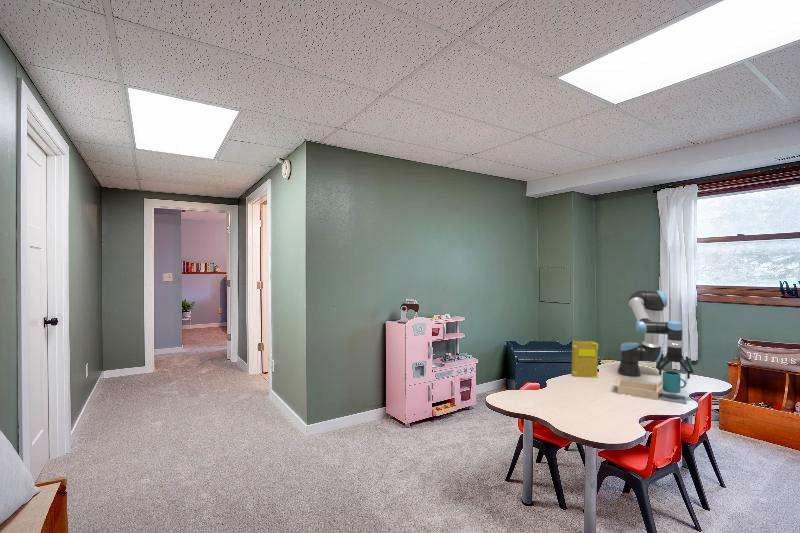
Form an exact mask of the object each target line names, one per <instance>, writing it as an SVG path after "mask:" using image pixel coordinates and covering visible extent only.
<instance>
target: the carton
mask: <svg viewBox="0 0 800 533" xmlns="http://www.w3.org/2000/svg"><path fill="white" fill-rule="evenodd" d="M613 381H614V382H615V384H616V386H617V394H618V393H619V394H618V395H622V394H625V395H624V396H628V395H631V396H630V397H635V396H636V398H641V399H647V400H653V401H659V392H660V391H661V390H663V381H661V380H660V382H659V383H658V384H655V383H647V382H641V381H636V380H635V381H634V380H626V379H620V378H619V377H618V375H617V374H615V376H614V379H613Z"/></svg>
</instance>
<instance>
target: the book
mask: <svg viewBox="0 0 800 533" xmlns="http://www.w3.org/2000/svg"><path fill="white" fill-rule="evenodd" d="M571 344H572V345H571V376H572V377H575V378H591V379H592V378H593V379H594V378H595V379H598V376H599V374H598V372H599V371H598V368H599V367H598V360H599V357H598V356H599V355H598V354H599V353H598V352H599V343H598V342H596V341H589V340H587V341H586V340H584V341H583V340H581V341H580V340H573V341H571Z"/></svg>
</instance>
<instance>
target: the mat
mask: <svg viewBox="0 0 800 533" xmlns="http://www.w3.org/2000/svg"><path fill="white" fill-rule="evenodd" d="M661 400H662V401H664V402H665V401H666V402H670V403H678V404H682V405H687V404H688V403H687V400H686V397H685V396H684V395H678V394H677V395H676V394H672V393H665V392H661Z"/></svg>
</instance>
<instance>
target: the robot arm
mask: <svg viewBox="0 0 800 533" xmlns="http://www.w3.org/2000/svg"><path fill="white" fill-rule="evenodd" d="M627 302H628V306H629V308H631V309H632V311H633V314H634V317H635V318H636V322H635V330H636V332H637V333H640V334H641V333H642V334H644V341H642V343H641V344H639V343H638V342H633V341H631V342H623V343H621V344H620V363H619V365H618V368H617V373H618V375H622V376H627V377H641V376H642V371H641V369H640V365H639V361H640V362H649V363H656V366H655V368H656V369H657V370H658V371H659V372H658V374H659V375H660V376H661V377H660V379H661V380H660V382H661V381H662V382H663V371H664V368H665V366H666V365H668V364H669V363H670V362H671V363H676V364H677V363H679V364H680V365H681V367H682V368H683V369H684V371H685V382H686V385H688V379H689V380H690V376H691V374H694V369H693V367H692V365H691V363H690V361H689V356H688V355H683V323H682V321H676V320H669V321H663V322H662V321H661V315H662V314H661V313H662V312H663V311H664V308H667V306H668V297H667V294H666V292H664V291H663V290H654V289H653V290H647V289H645V290H643V289H639V290H635V291H634V292H632V293H631V294H629V297H628V298H627ZM660 335H666V336H667V338H666V339H667V341H666V344H667V346H666V348H667V349H666V353H664V349H663V347H662V346H661V344H660V342H659V336H660ZM665 357H666V358H667V359H666V360H665V362H663V363H662V361H663V359H664V358H665ZM682 360H684V361H686V364H687V366H685V363H684V362H683V361H682Z"/></svg>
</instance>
